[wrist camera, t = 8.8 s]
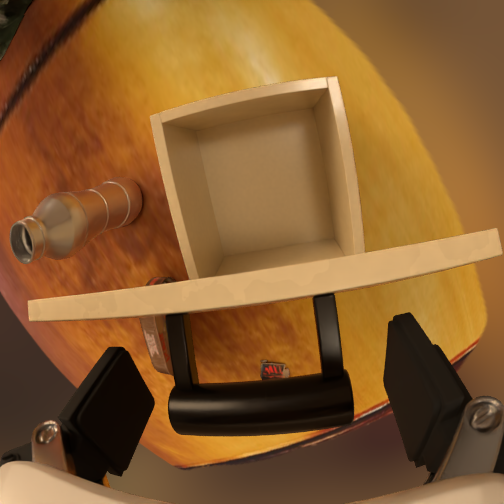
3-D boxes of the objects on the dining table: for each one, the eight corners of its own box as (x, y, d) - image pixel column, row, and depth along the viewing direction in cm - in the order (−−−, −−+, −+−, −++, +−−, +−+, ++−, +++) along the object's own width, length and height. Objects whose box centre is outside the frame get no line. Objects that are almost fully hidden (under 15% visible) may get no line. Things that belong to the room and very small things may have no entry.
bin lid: (27, 300, 8) (51, 434, 7) (497, 227, 6) (508, 401, 5) (195, 304, 27) (203, 360, 26) (367, 278, 24) (375, 337, 23)
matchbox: (263, 382, 45) (262, 384, 44) (256, 360, 43) (256, 362, 43) (290, 379, 44) (290, 381, 44) (285, 356, 42) (285, 358, 42)
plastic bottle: (156, 192, 36) (53, 233, 17) (133, 231, 38) (37, 295, 19) (122, 166, 35) (9, 187, 16) (101, 205, 37) (-3, 250, 18)
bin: (189, 126, 33) (149, 116, 21) (317, 101, 30) (337, 75, 19) (220, 261, 38) (197, 306, 27) (340, 241, 36) (366, 280, 25)
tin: (191, 352, 44) (176, 388, 36) (173, 351, 44) (156, 385, 36) (177, 267, 39) (154, 294, 31) (157, 266, 39) (131, 293, 31)
